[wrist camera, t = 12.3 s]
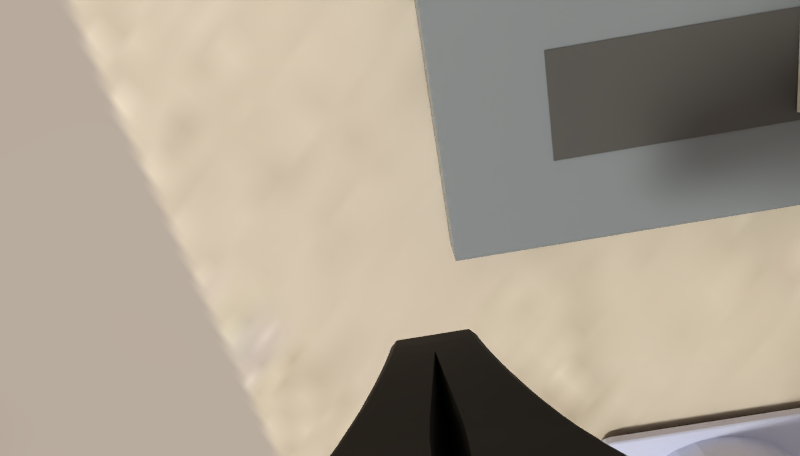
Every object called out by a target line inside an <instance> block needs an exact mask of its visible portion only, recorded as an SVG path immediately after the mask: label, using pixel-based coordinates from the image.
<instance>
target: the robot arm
mask: <svg viewBox="0 0 800 456" xmlns="http://www.w3.org/2000/svg"><path fill="white" fill-rule="evenodd" d="M330 456H800V408H795V409H789V410H782V411H776V412H769V413H763V414H756V415H750V416H743V417H737V418H730V419H724V420H717V421H711V422H704V423H698V424H691V425H685V426H679V427H672V428H666V429H659V430H653V431H646V432H640V433H633V434H627V435H620V436H614V437H609V438H606V439H604V440H602V441H601V440H599V439H598V438H596V437H594V436H593V435H591V434H590V433H588V432H586V431H585V430H583V429H582V428H580V427H578V426H577V425H575V424H574V423H573V422H571V421H570V420H568V419H567V418H566V417H564V416H563V415H561V414H560V413H559V412H558V411H556V410H555V409H554V408H552V407H551V406H550V405H548V404H547V403H546V402H545V401H543V400H542V399H541V398H540V397H538V396H537V395H536V394H535V393H534V392H532V391H531V390H530V389H529V388H528V387H527V386H526V385H525V384H523V383H522V382H521V381H520V380H519V379H518V378H517V377H516V376H515V375H513V374H512V373H511V372H510V371H509V370H508V369H507V368H506V367H505V366H504V365H503V364H502V363H501V362H500V361H499V360H498V359H497V358H496V357H495V356H494V355H493V354H492V353H491V352H490V351H489V349H488V348H487V347H486V346H485V345H484V344H483V343H482V341H481V340H480V339H479V338H478V336H477V335H476V334H475V333H473V332H472V331H471V330H469V329H466V330H460V331H454V332H448V333H441V334H435V335H429V336H423V337H417V338H410V339H404V340H398V341H396V342H395V344H394V345H393V346H392V348H391V350H390V353H389V355H388V358H387V360H386V362H385V365H384V367H383V369H382V371H381V373H380V375H379V377H378V379H377V381H376V383H375V385H374V387H373V389H372V390H371V392H370V394H369V396H368V398H367V399H366V401H365V403H364V405H363V407H362V408H361V410H360V412H359V413H358V415H357V417H356V418H355V420H354V421H353V423H352V424H351V426H350V427H349V429H348V430H347V432H346V433H345V435H344V436H343V438H342V440H341V441H340V443H339V444H338V446H337V447H336V448H335V450H334V451H333V453H332V454H331V455H330Z"/></svg>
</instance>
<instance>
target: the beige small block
mask: <svg viewBox="0 0 800 456" xmlns="http://www.w3.org/2000/svg"><path fill="white" fill-rule="evenodd" d="M797 112H800V41H799V68H798V95H797Z"/></svg>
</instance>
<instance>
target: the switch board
mask: <svg viewBox="0 0 800 456" xmlns="http://www.w3.org/2000/svg"><path fill="white" fill-rule="evenodd" d="M415 7H416V14H417V20H418V27H419V34H420V41H421V47H422V54H423V61H424V67H425V74H426V81H427V88H428V94H429V101H430V108H431V115H432V121H433V128H434V135H435V141H436V148H437V155H438V162H439V168H440V175H441V182H442V189H443V195H444V202H445V209H446V215H447V222H448V229H449V236H450V242H451V246H452V250H453V253H454V256H455V259H456V261H459V260H465V259H471V258H477V257H483V256H489V255H495V254H502V253H508V252H514V251H520V250H526V249H532V248H538V247H544V246H551V245H557V244H563V243H569V242H575V241H581V240H587V239H593V238H600V237H606V236H612V235H618V234H624V233H630V232H636V231H642V230H649V229H655V228H661V227H667V226H673V225H679V224H685V223H691V222H697V221H704V220H710V219H716V218H722V217H728V216H734V215H740V214H746V213H753V212H759V211H765V210H771V209H777V208H783V207H789V206H795V205H800V112H797V95H798V68H799V41H800V0H415Z"/></svg>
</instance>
